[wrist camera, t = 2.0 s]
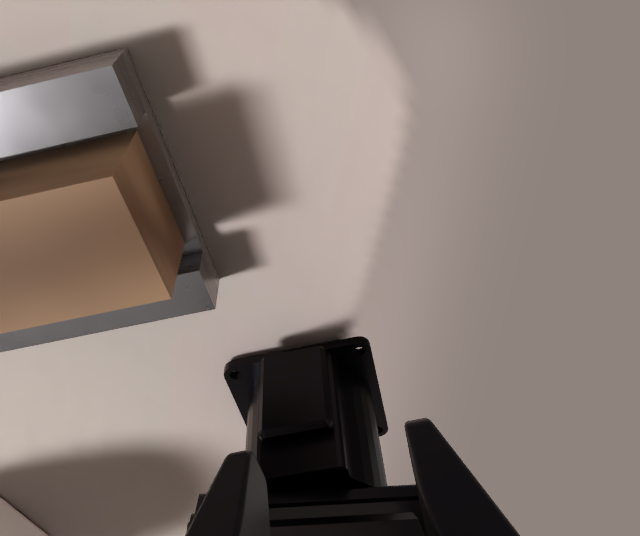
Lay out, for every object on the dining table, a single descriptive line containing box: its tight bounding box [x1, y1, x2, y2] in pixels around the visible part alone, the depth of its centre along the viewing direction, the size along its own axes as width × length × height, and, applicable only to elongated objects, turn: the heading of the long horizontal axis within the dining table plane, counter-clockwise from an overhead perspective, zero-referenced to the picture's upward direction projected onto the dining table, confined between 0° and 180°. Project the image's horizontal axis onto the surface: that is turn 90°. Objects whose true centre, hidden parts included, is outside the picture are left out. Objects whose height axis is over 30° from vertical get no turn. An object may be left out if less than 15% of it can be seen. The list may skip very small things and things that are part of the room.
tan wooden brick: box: [0, 130, 185, 334], centre depth 18 cm, size 4×7×3 cm, turn 102°
